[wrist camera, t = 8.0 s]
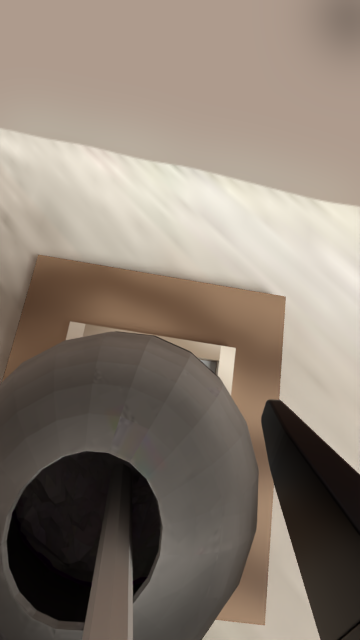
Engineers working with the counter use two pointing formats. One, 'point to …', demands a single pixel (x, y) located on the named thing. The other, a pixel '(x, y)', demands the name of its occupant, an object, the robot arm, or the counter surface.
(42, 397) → the beverage cup
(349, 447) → the counter surface
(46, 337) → the base board
